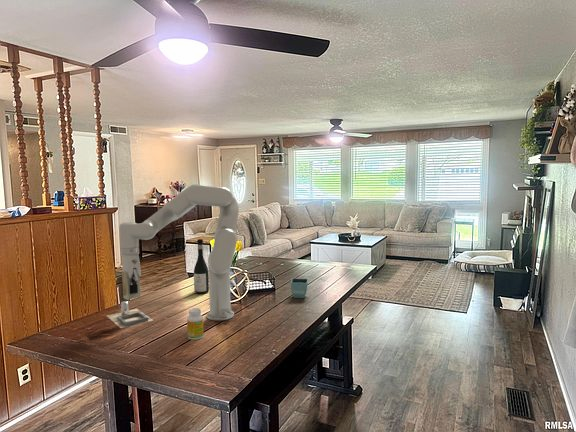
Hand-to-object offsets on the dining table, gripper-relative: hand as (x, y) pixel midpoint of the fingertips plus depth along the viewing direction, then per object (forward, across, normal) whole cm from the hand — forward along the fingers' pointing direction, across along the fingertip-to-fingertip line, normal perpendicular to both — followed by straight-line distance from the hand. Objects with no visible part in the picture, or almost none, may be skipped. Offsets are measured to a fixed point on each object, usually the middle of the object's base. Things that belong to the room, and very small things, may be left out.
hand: (131, 291), depth 175 cm
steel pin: (+13, +10, 0) cm, 17 cm away
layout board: (+15, +5, 0) cm, 16 cm away
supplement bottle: (+15, -31, -14) cm, 37 cm away
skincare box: (+3, 0, 0) cm, 3 cm away
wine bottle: (+15, +23, -46) cm, 54 cm away
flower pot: (+15, -20, -81) cm, 85 cm away
